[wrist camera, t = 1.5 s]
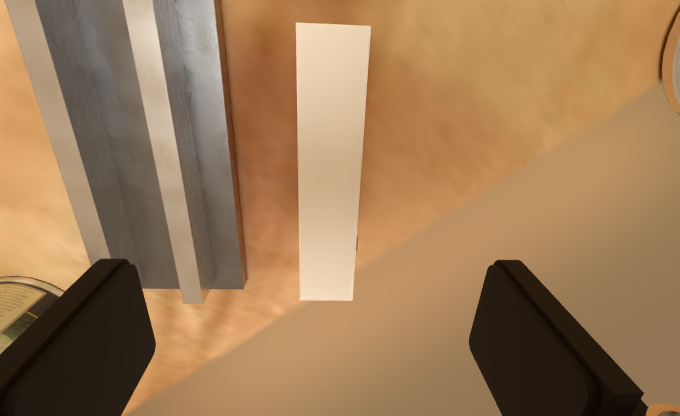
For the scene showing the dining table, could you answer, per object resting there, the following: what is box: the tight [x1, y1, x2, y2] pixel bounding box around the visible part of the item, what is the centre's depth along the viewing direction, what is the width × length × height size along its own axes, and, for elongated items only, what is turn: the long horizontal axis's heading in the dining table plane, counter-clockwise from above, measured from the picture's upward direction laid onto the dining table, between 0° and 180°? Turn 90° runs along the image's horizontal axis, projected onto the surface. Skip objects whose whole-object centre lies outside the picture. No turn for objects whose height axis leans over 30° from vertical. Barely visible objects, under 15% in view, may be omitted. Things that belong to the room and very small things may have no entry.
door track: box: [4, 0, 247, 304], centre depth 23 cm, size 12×26×4 cm, turn 178°
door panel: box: [296, 23, 371, 301], centre depth 21 cm, size 3×14×10 cm, turn 178°
